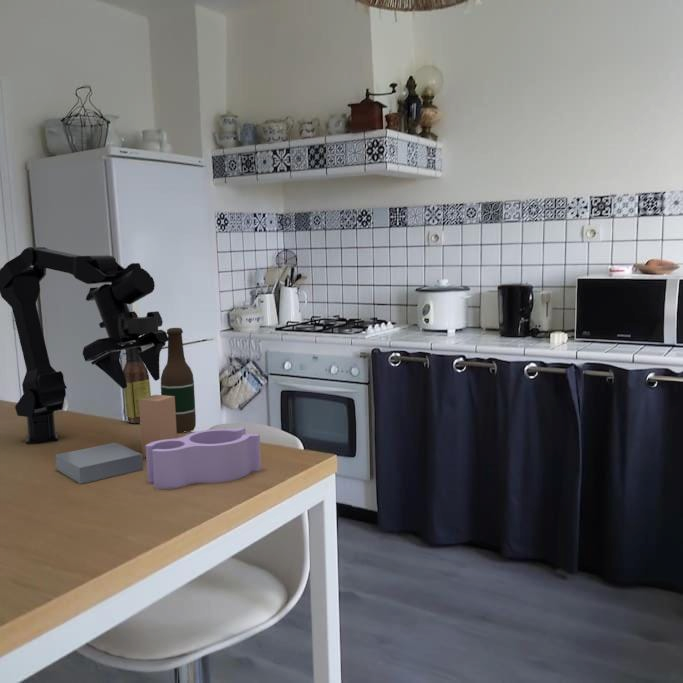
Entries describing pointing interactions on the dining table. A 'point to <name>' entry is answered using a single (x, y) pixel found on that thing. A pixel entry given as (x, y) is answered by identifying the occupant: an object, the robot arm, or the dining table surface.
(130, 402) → the sauce bottle
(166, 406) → the tan block
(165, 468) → the clip
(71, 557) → the dining table surface
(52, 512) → the dining table surface
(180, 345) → the beer bottle
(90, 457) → the plate
